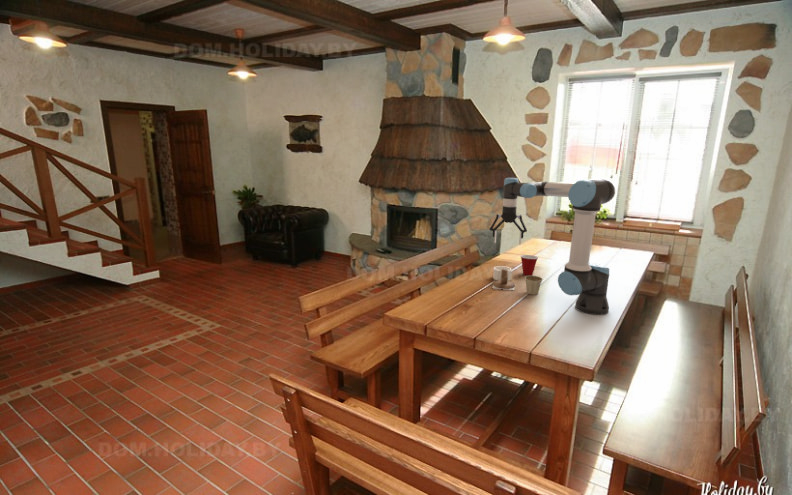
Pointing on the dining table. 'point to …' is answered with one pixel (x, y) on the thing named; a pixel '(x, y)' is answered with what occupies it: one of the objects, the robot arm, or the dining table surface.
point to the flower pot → (533, 284)
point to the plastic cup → (528, 264)
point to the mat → (501, 288)
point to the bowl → (498, 272)
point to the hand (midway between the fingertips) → (507, 243)
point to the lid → (504, 281)
